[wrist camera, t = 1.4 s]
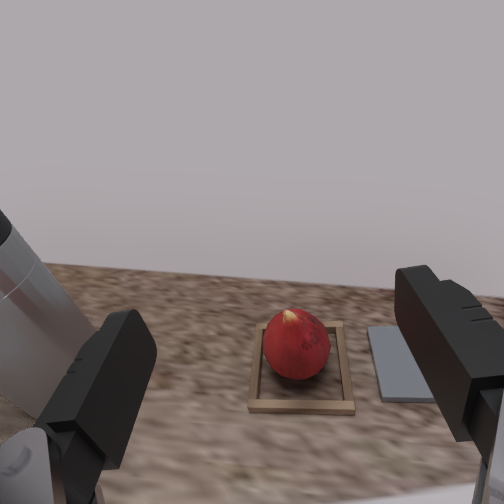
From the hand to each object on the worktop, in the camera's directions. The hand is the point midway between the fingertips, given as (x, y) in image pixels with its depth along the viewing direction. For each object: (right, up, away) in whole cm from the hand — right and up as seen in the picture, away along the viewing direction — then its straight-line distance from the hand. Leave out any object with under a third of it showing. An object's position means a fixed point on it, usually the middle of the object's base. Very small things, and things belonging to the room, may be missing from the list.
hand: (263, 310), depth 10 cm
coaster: (+14, -8, +18) cm, 25 cm away
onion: (+4, -9, +20) cm, 23 cm away
